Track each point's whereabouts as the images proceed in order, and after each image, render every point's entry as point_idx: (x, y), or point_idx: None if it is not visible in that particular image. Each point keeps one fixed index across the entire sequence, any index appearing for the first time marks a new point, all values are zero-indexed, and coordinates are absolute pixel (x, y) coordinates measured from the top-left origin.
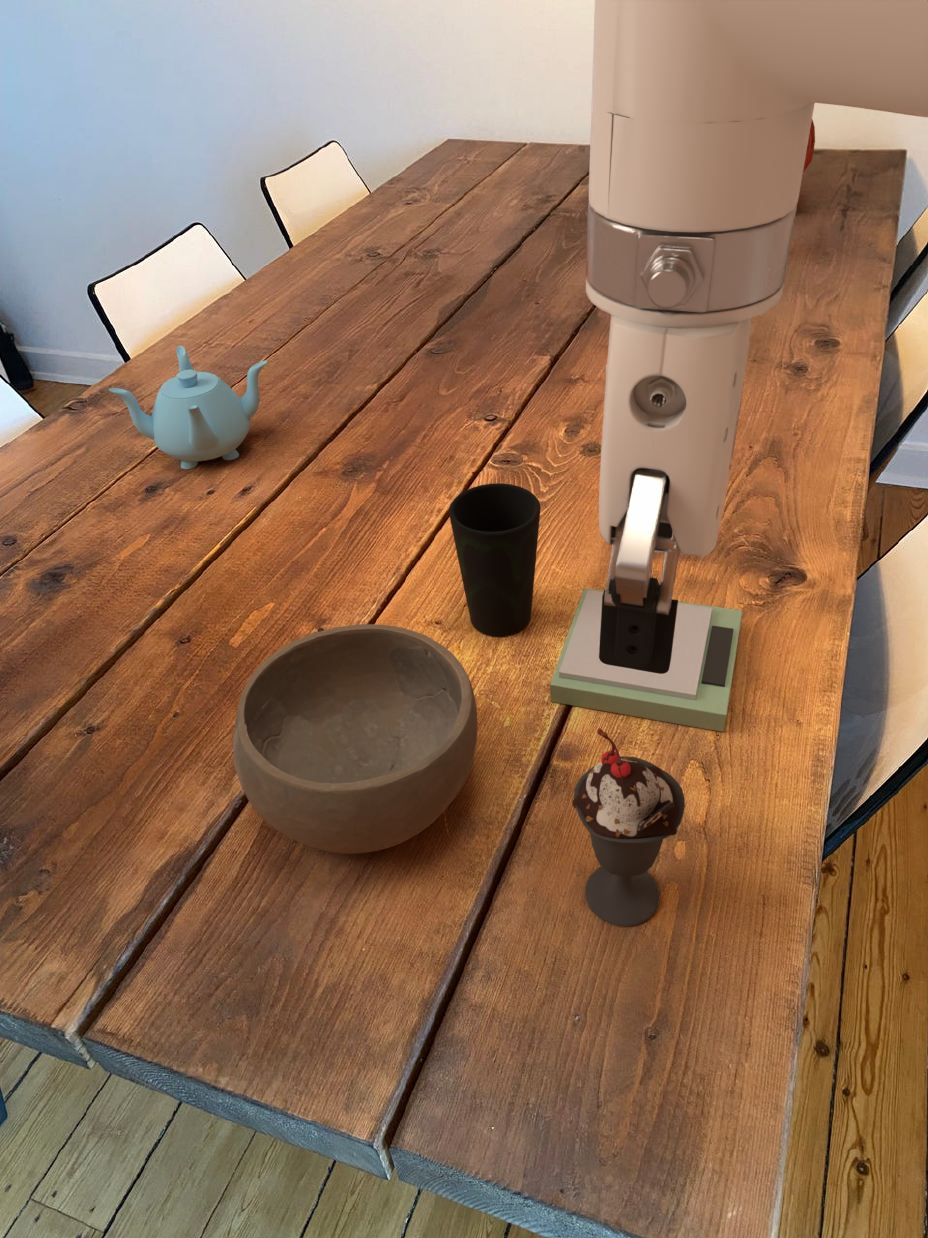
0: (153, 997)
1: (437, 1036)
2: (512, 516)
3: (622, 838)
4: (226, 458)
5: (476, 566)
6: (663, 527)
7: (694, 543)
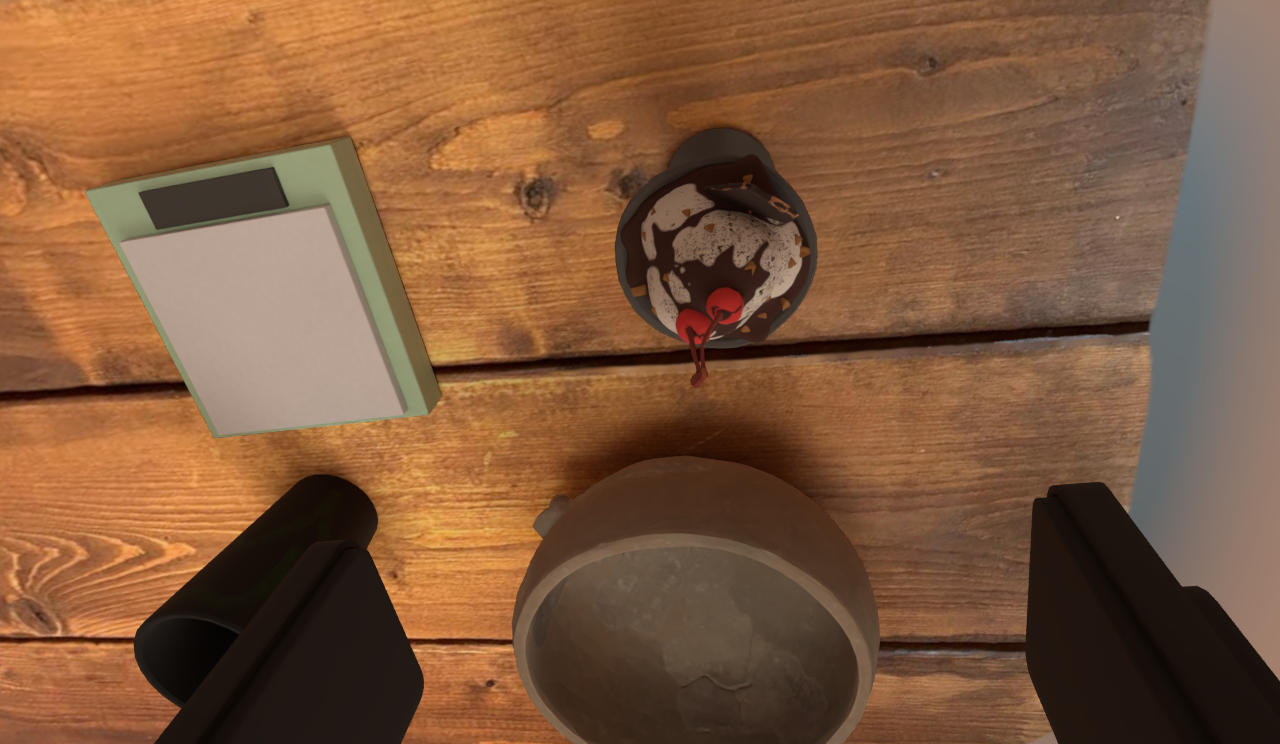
0: None
1: (1013, 327)
2: (188, 619)
3: (806, 240)
4: None
5: None
6: (365, 691)
7: None
